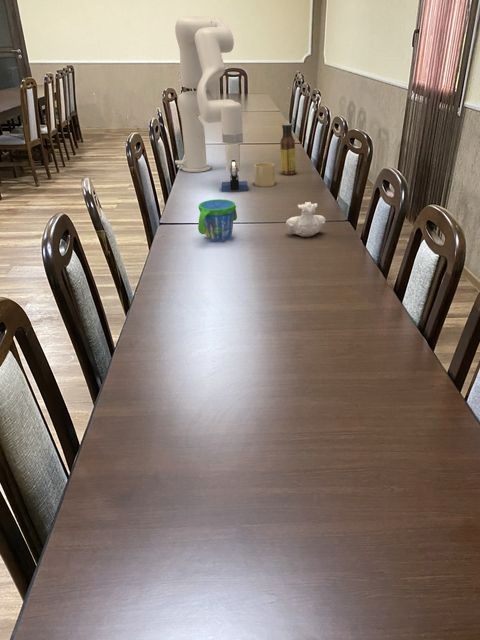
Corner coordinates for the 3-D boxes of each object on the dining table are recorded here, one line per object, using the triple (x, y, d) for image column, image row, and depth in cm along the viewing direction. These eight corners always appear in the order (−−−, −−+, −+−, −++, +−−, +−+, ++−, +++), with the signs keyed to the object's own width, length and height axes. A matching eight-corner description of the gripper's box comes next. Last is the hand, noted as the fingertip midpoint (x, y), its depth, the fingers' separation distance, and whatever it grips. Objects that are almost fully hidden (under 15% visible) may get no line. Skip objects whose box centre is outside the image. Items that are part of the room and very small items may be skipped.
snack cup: (213, 249, 152) (210, 213, 146) (187, 241, 158) (184, 207, 152) (249, 234, 162) (248, 201, 157) (224, 228, 168) (222, 195, 163)
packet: (221, 191, 206) (221, 185, 205) (222, 188, 211) (221, 181, 210) (247, 190, 207) (247, 184, 205) (247, 187, 211) (247, 181, 210)
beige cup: (255, 186, 212) (254, 167, 208) (254, 182, 219) (253, 162, 215) (275, 186, 212) (275, 166, 208) (273, 181, 219) (273, 162, 215)
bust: (286, 243, 161) (292, 221, 150) (282, 222, 163) (287, 199, 153) (325, 240, 163) (333, 218, 152) (320, 219, 165) (328, 196, 155)
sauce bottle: (296, 172, 233) (296, 122, 223) (295, 175, 227) (295, 125, 217) (281, 172, 233) (280, 122, 223) (279, 175, 228) (279, 125, 218)
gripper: (222, 135, 207) (225, 183, 216) (222, 143, 192) (224, 194, 201) (242, 134, 207) (243, 182, 216) (243, 142, 192) (244, 193, 201)
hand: (234, 187), depth 209 cm, fingers closed on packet, 5 cm apart
